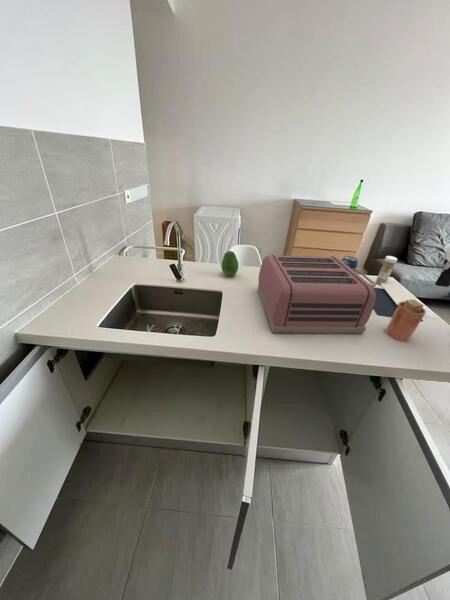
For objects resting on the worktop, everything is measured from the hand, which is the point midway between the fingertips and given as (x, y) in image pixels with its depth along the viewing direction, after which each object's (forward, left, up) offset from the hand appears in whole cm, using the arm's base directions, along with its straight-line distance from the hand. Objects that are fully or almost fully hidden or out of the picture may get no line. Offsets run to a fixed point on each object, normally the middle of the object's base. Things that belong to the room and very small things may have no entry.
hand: (448, 290), depth 64 cm
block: (0, -9, -13) cm, 16 cm away
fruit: (+64, -38, -23) cm, 78 cm away
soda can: (+10, -47, -23) cm, 54 cm away
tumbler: (0, -9, -22) cm, 24 cm away
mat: (-5, -32, -22) cm, 40 cm away
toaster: (+29, -17, -23) cm, 41 cm away
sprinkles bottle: (-8, -50, -23) cm, 56 cm away
